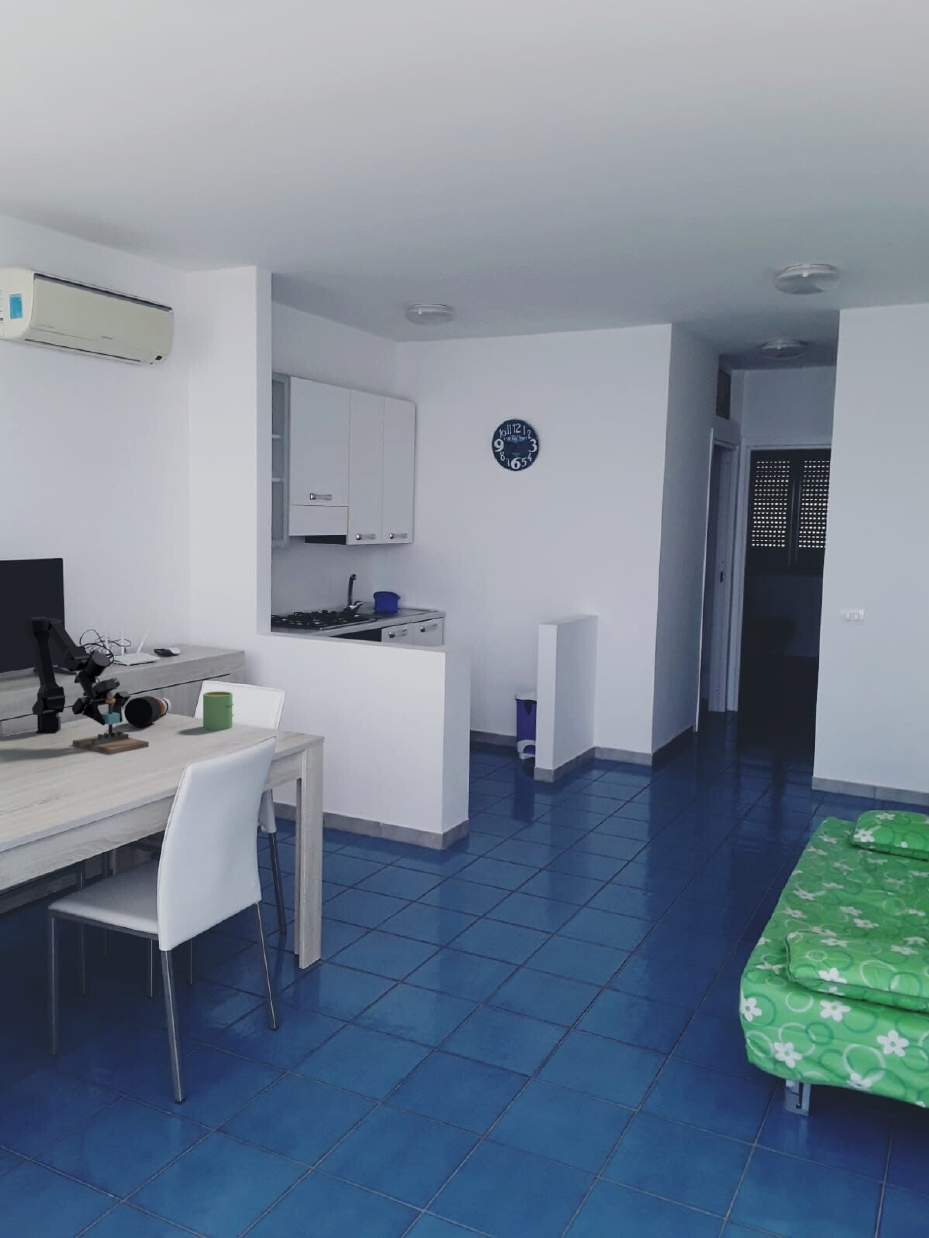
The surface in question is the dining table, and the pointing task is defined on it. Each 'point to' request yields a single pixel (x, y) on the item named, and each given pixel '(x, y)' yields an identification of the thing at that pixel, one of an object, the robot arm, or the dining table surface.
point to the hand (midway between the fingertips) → (113, 723)
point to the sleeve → (111, 718)
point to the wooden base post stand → (111, 738)
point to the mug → (217, 710)
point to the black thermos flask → (145, 710)
